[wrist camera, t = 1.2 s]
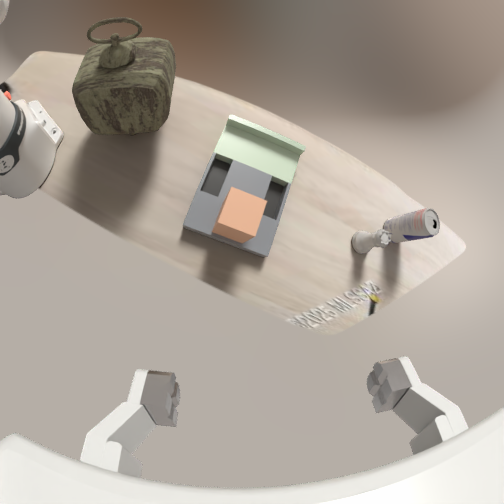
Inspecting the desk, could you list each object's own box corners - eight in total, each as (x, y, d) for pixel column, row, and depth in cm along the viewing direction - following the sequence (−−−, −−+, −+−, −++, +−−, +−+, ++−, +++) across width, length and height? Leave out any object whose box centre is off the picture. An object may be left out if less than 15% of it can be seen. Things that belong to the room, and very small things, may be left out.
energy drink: (398, 246, 53) (439, 240, 41) (381, 239, 52) (422, 231, 40) (401, 223, 53) (440, 213, 42) (384, 215, 52) (424, 202, 41)
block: (242, 243, 42) (255, 236, 34) (211, 231, 41) (217, 222, 33) (252, 213, 43) (267, 200, 35) (222, 202, 42) (231, 186, 34)
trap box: (263, 257, 45) (271, 255, 41) (183, 227, 43) (182, 222, 38) (296, 156, 48) (305, 146, 44) (226, 126, 46) (230, 114, 41)
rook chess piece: (369, 253, 51) (396, 249, 43) (351, 255, 50) (378, 251, 42) (367, 230, 51) (393, 224, 43) (349, 231, 50) (374, 225, 42)
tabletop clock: (175, 103, 44) (180, -3, 19) (170, 144, 43) (167, 38, 19) (103, 107, 40) (69, 12, 16) (93, 147, 40) (40, 57, 15)
